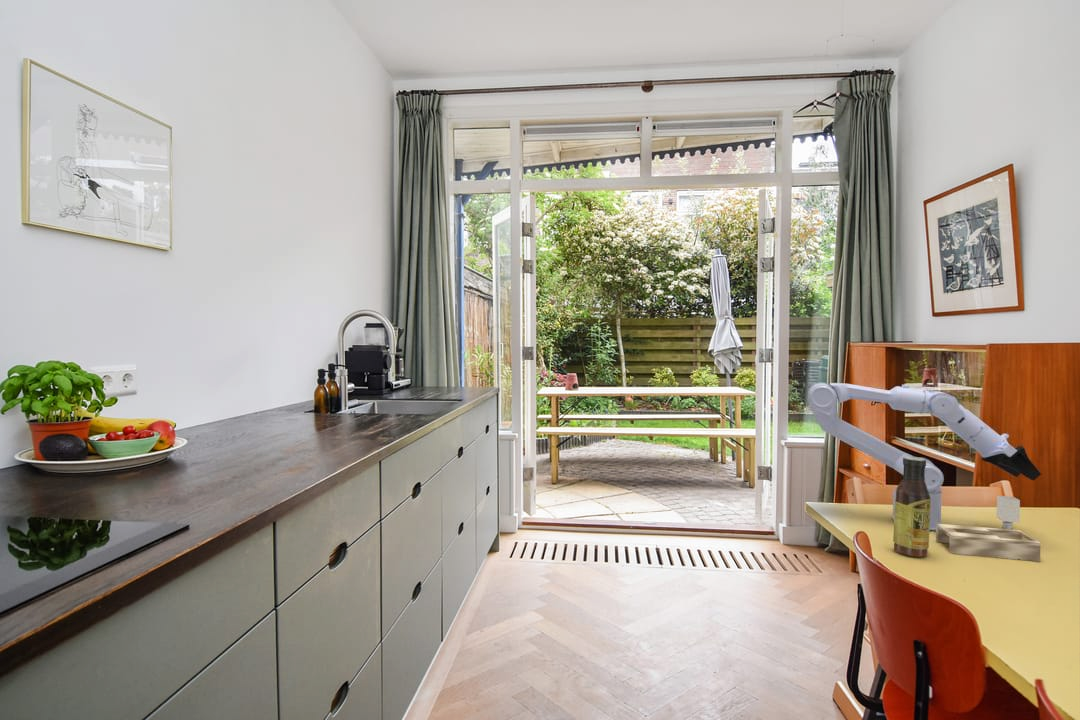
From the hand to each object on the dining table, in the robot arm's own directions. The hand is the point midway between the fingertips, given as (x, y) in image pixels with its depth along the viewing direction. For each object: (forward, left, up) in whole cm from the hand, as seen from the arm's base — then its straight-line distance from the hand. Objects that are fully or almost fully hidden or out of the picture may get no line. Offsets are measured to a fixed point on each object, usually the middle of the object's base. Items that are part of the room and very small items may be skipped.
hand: (1028, 475), depth 128 cm
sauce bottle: (-28, -18, -14) cm, 37 cm away
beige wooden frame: (-12, -12, -14) cm, 22 cm away
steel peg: (-4, -2, -14) cm, 15 cm away
